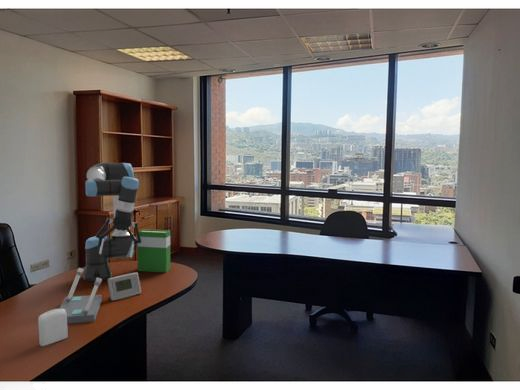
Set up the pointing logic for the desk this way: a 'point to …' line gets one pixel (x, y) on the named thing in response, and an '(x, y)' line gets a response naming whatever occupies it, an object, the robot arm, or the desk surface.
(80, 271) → the lever
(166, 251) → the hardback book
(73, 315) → the switch unit
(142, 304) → the desk surface
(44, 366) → the desk surface
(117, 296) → the digital clock
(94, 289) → the lever
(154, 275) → the desk surface
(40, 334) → the photo printer
